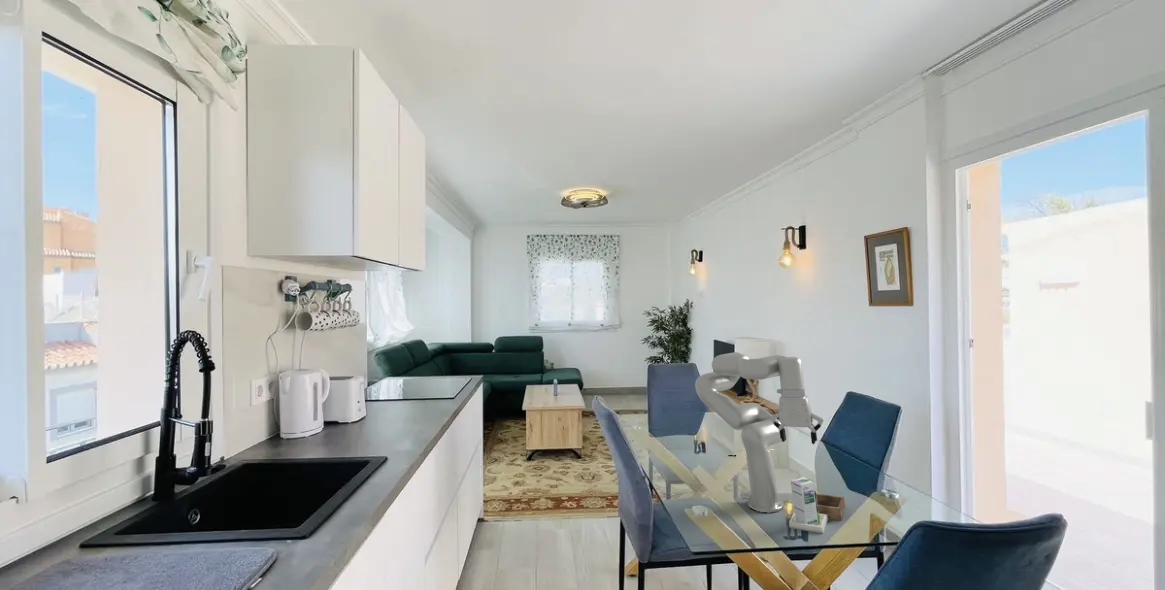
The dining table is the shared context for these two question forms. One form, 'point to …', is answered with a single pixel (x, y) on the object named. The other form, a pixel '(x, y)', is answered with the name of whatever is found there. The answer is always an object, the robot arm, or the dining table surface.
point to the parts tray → (812, 528)
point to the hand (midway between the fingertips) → (798, 441)
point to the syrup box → (805, 501)
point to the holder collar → (831, 506)
